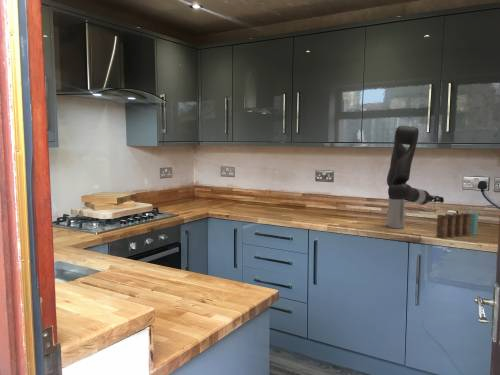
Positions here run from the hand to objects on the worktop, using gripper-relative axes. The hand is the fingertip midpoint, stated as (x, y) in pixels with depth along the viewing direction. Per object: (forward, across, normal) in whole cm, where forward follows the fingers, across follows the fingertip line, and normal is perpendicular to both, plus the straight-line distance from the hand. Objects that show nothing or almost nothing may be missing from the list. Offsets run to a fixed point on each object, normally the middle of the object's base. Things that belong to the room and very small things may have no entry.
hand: (434, 200), depth 220 cm
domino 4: (+25, -5, +16) cm, 30 cm away
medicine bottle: (+30, +5, +14) cm, 33 cm away
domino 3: (+20, -4, +17) cm, 26 cm away
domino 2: (+14, -2, +18) cm, 23 cm away
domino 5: (+30, -6, +15) cm, 34 cm away
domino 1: (+9, -1, +19) cm, 21 cm away
